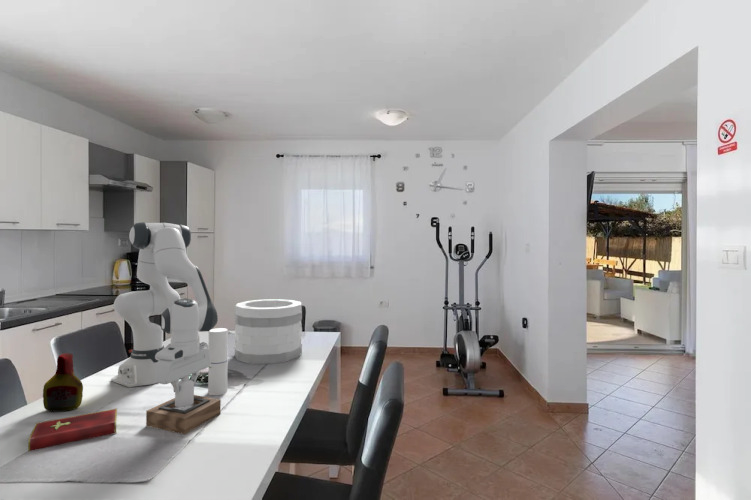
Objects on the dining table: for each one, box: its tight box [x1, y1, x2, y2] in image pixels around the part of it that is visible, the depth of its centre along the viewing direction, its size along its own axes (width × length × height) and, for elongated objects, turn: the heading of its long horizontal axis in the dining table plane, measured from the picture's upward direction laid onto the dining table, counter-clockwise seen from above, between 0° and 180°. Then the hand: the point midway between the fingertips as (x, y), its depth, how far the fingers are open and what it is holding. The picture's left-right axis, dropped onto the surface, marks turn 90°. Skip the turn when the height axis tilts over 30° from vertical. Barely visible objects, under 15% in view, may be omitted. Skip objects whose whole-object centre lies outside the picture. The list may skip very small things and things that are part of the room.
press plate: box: [173, 403, 197, 411], centre depth 134 cm, size 8×8×1 cm
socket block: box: [145, 394, 222, 435], centre depth 134 cm, size 16×16×6 cm
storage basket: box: [234, 298, 303, 365], centre depth 212 cm, size 35×35×27 cm
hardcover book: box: [27, 408, 118, 452], centre depth 123 cm, size 12×21×4 cm, turn 122°
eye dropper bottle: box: [174, 375, 195, 407], centre depth 133 cm, size 4×6×12 cm
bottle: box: [42, 352, 84, 412], centre depth 140 cm, size 12×6×20 cm, turn 97°
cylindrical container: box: [207, 327, 229, 396], centre depth 158 cm, size 7×7×25 cm
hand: (185, 388), depth 133 cm, fingers closed on eye dropper bottle, 5 cm apart
